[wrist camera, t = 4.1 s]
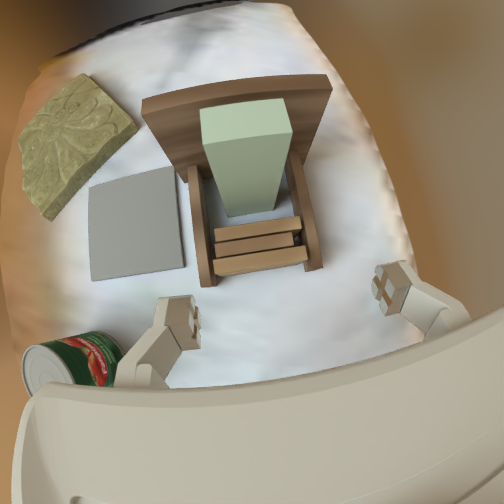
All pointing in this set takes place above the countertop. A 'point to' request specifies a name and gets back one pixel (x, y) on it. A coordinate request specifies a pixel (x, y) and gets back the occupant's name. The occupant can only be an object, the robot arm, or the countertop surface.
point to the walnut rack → (196, 162)
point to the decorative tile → (70, 143)
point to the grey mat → (134, 225)
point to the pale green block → (247, 152)
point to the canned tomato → (72, 361)
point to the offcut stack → (257, 246)
